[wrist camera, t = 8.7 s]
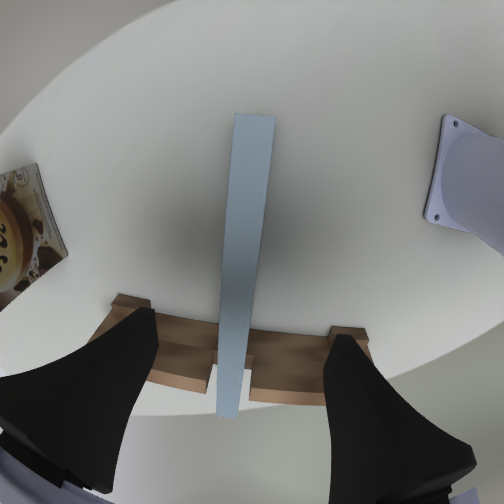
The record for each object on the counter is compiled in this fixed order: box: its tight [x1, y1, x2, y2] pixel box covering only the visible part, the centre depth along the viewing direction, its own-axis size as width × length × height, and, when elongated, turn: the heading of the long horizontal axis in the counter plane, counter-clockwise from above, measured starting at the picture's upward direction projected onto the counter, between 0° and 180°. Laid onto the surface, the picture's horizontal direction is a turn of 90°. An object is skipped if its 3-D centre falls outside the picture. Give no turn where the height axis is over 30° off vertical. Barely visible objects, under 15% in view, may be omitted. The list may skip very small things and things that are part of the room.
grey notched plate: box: [216, 113, 276, 419], centre depth 17 cm, size 20×2×6 cm, turn 174°
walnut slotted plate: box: [87, 294, 374, 406], centre depth 19 cm, size 22×4×6 cm, turn 83°
